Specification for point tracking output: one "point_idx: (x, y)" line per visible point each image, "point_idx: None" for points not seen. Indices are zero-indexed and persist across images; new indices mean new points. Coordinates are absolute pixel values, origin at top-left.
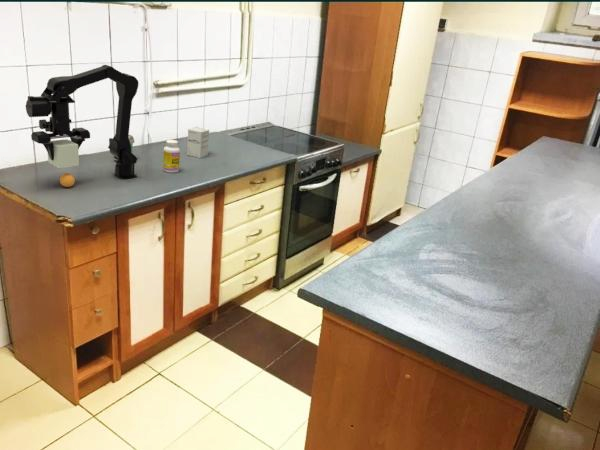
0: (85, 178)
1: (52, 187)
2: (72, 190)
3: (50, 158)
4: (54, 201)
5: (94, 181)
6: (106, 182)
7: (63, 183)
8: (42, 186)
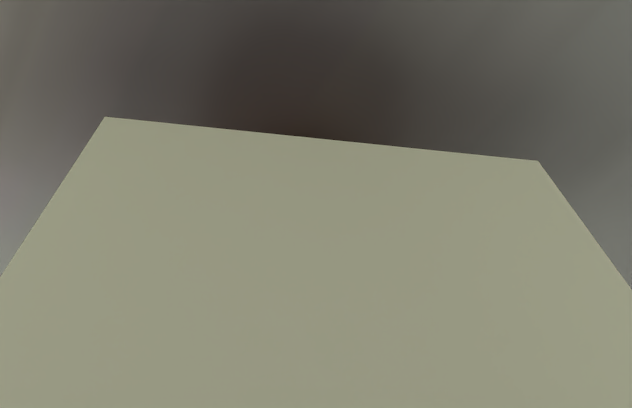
0: (606, 73)
1: (156, 118)
2: None
3: None
4: None
5: (579, 193)
6: (620, 262)
7: None
8: (72, 31)
